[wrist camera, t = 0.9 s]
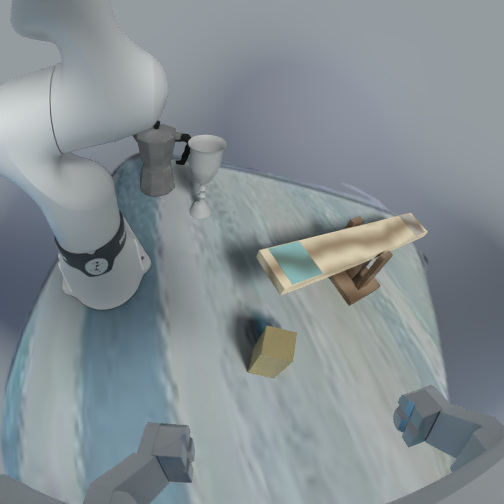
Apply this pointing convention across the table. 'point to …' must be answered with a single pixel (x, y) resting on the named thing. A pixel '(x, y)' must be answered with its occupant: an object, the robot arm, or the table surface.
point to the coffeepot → (159, 158)
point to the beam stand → (359, 275)
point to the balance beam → (335, 251)
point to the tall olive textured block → (272, 352)
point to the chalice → (204, 168)
